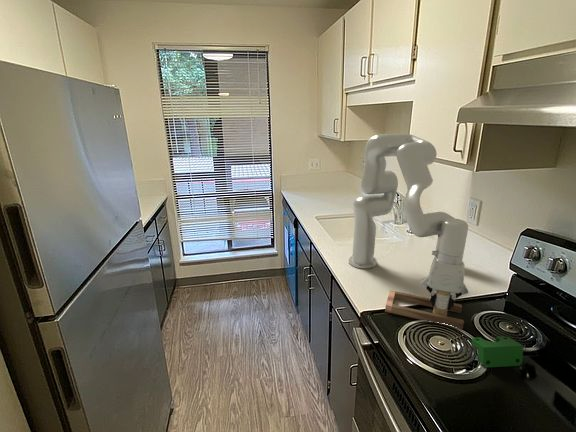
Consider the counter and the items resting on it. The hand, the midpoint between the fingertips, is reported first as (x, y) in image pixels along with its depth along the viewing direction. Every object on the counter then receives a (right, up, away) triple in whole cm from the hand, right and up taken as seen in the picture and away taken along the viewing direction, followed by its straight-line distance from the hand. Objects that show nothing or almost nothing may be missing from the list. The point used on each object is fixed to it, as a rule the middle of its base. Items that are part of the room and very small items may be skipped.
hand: (441, 305), depth 110 cm
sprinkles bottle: (0, -3, +1) cm, 4 cm away
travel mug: (+19, +8, +38) cm, 43 cm away
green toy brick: (+6, -10, -19) cm, 22 cm away
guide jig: (-4, -3, +3) cm, 6 cm away
